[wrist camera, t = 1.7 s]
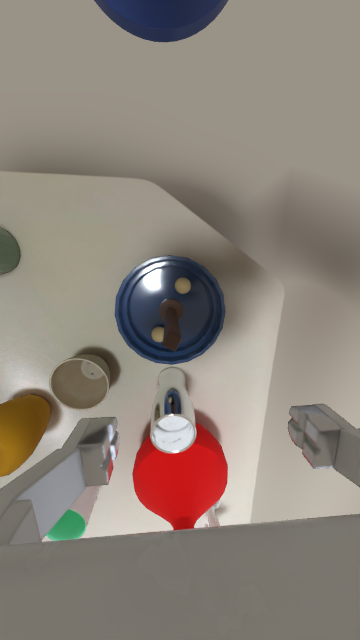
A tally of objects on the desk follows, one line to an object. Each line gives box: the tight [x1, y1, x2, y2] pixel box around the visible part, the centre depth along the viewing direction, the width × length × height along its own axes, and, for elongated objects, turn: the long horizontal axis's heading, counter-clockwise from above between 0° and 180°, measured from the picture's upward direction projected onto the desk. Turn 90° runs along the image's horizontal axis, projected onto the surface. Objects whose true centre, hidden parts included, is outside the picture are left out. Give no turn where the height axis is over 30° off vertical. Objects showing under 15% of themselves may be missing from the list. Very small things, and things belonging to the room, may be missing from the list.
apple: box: [0, 395, 51, 477], centre depth 35 cm, size 11×11×13 cm
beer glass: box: [150, 368, 196, 454], centre depth 34 cm, size 7×7×15 cm
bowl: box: [115, 255, 225, 365], centre depth 36 cm, size 19×19×5 cm
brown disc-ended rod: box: [159, 298, 183, 351], centre depth 28 cm, size 4×4×20 cm
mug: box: [46, 485, 100, 541], centre depth 41 cm, size 12×8×10 cm, turn 8°
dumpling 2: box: [175, 277, 191, 294], centre depth 36 cm, size 3×3×3 cm
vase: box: [133, 423, 228, 530], centre depth 36 cm, size 18×18×19 cm
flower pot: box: [49, 354, 110, 410], centre depth 37 cm, size 10×10×7 cm
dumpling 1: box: [151, 327, 164, 342], centre depth 37 cm, size 3×3×3 cm
